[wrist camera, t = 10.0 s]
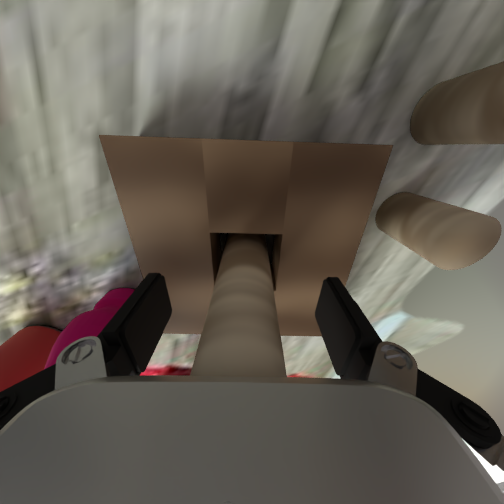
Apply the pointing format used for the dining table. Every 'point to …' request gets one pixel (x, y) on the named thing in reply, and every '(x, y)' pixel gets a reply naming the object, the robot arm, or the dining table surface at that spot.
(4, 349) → the beer can
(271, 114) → the dining table surface
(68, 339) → the pepper mill
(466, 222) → the short pin
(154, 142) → the hole block
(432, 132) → the medium pin
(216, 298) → the long pin
